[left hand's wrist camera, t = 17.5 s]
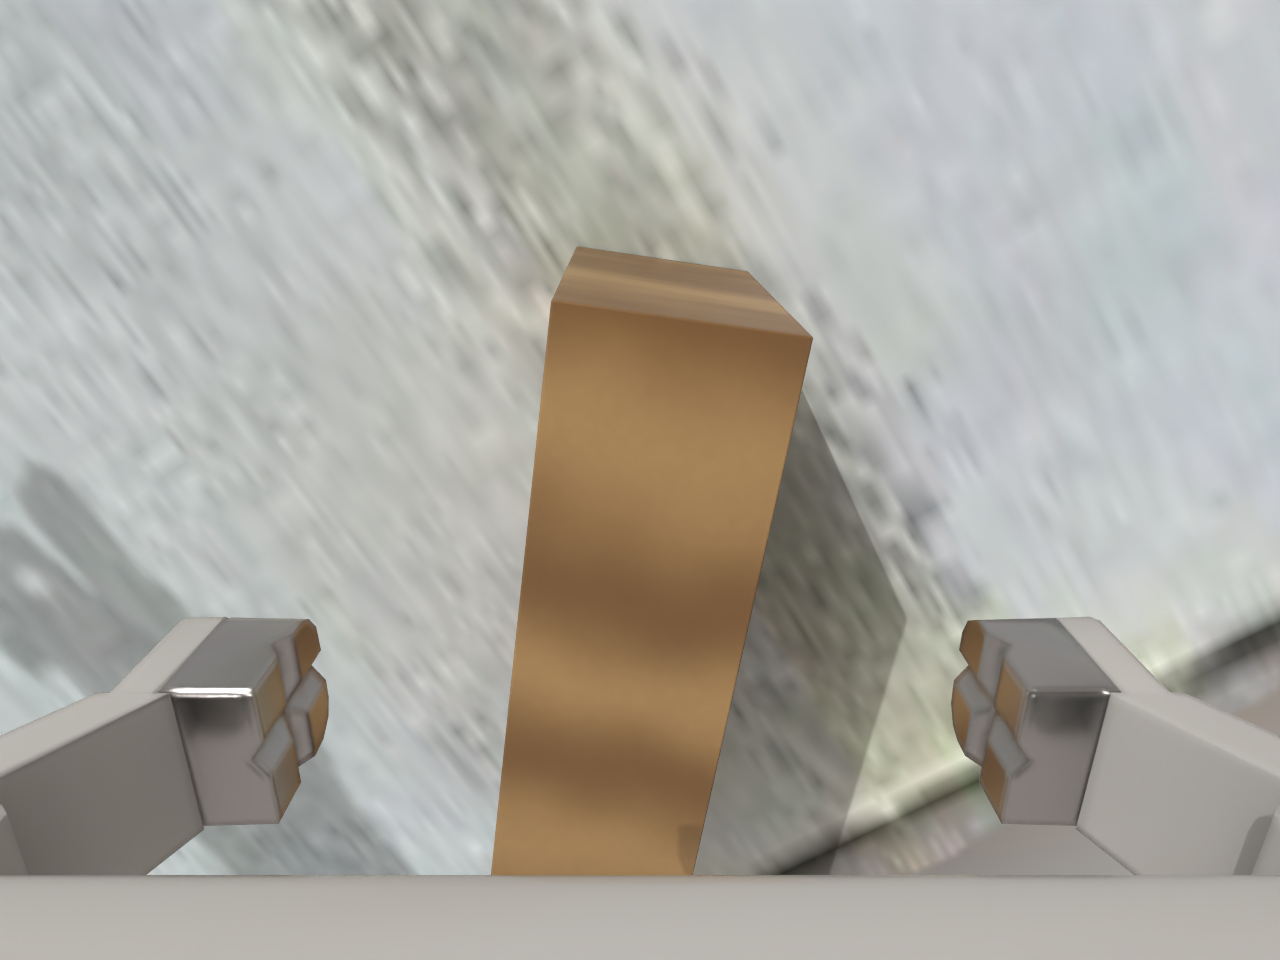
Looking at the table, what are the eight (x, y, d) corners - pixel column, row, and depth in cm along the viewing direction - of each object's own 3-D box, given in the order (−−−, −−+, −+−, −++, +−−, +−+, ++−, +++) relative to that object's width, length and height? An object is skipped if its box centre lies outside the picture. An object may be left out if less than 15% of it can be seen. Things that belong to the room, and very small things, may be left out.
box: (576, 246, 29) (551, 299, 19) (748, 271, 29) (813, 336, 19) (512, 814, 38) (472, 1051, 28) (643, 826, 38) (650, 1066, 28)
